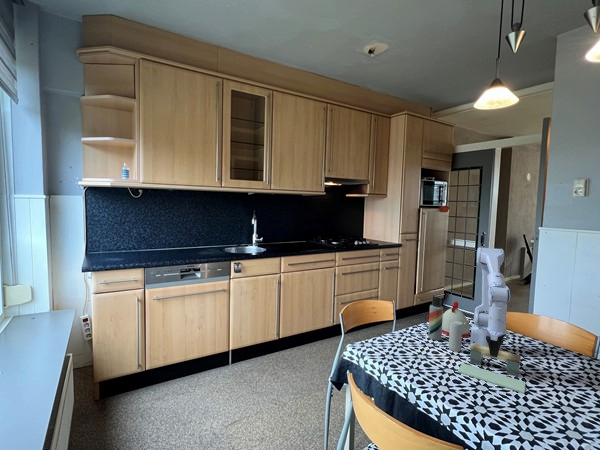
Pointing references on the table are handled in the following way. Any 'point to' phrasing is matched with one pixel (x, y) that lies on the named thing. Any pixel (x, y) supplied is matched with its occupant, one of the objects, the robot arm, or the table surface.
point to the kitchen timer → (455, 315)
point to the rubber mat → (492, 377)
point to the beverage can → (455, 336)
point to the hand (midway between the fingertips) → (494, 352)
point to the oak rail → (501, 354)
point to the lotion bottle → (435, 319)
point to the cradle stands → (511, 365)
